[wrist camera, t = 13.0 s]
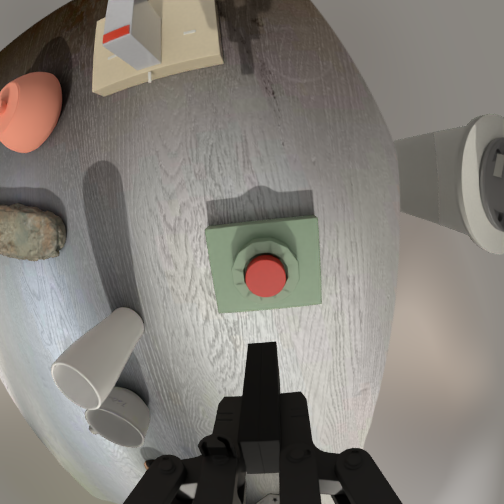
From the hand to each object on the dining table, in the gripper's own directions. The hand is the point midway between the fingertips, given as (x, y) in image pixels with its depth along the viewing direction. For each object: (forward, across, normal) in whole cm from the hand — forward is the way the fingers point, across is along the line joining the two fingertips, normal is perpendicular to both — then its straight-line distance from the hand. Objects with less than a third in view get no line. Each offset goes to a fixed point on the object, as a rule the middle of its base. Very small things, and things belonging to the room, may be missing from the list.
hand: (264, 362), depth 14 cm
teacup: (+19, -28, -24) cm, 41 cm away
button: (+15, 0, 0) cm, 15 cm away
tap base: (+18, -10, +30) cm, 37 cm away
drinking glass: (+19, -20, -7) cm, 28 cm away
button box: (+18, 0, 0) cm, 18 cm away
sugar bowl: (+19, -31, +26) cm, 45 cm away
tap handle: (+15, -10, +28) cm, 33 cm away
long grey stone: (+19, -44, +10) cm, 49 cm away
